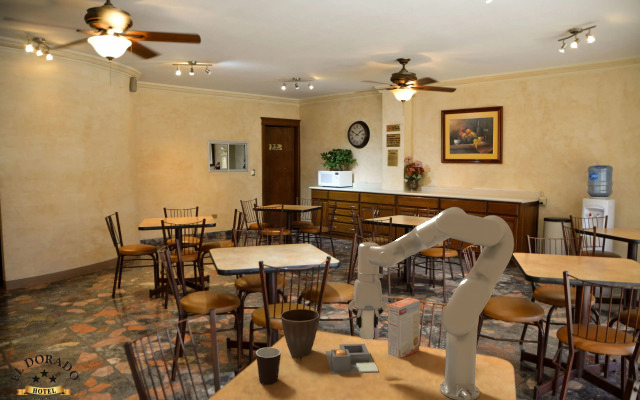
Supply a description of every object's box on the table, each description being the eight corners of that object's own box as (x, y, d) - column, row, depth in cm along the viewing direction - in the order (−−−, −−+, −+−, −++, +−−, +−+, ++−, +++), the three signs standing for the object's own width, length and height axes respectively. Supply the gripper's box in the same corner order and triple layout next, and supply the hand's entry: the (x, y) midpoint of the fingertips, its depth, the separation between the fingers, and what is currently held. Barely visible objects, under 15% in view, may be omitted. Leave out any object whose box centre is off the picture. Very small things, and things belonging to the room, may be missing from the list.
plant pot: (291, 365, 172) (291, 323, 171) (274, 351, 185) (274, 312, 184) (325, 357, 180) (326, 317, 178) (307, 344, 193) (307, 306, 191)
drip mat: (378, 371, 166) (378, 370, 165) (359, 372, 165) (359, 371, 165) (374, 363, 172) (374, 362, 172) (355, 364, 172) (355, 362, 172)
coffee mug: (274, 388, 155) (274, 359, 154) (251, 383, 158) (251, 355, 157) (288, 373, 166) (288, 346, 165) (266, 369, 169) (266, 342, 168)
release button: (346, 364, 167) (346, 353, 167) (336, 364, 167) (336, 354, 166) (344, 360, 171) (344, 349, 170) (335, 360, 170) (335, 349, 170)
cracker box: (407, 346, 191) (408, 296, 190) (419, 350, 187) (421, 299, 185) (386, 356, 182) (387, 303, 180) (399, 360, 177) (400, 307, 176)
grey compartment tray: (378, 375, 165) (379, 357, 165) (331, 376, 163) (331, 359, 163) (367, 352, 185) (367, 336, 184) (325, 353, 183) (325, 337, 183)
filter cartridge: (375, 339, 166) (376, 306, 165) (360, 339, 165) (361, 306, 164) (372, 333, 171) (373, 302, 170) (358, 334, 170) (359, 302, 169)
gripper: (389, 274, 171) (387, 322, 172) (343, 274, 169) (342, 323, 170) (394, 279, 163) (392, 330, 165) (346, 280, 161) (345, 331, 163)
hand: (367, 326), depth 168 cm, fingers closed on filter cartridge, 5 cm apart
